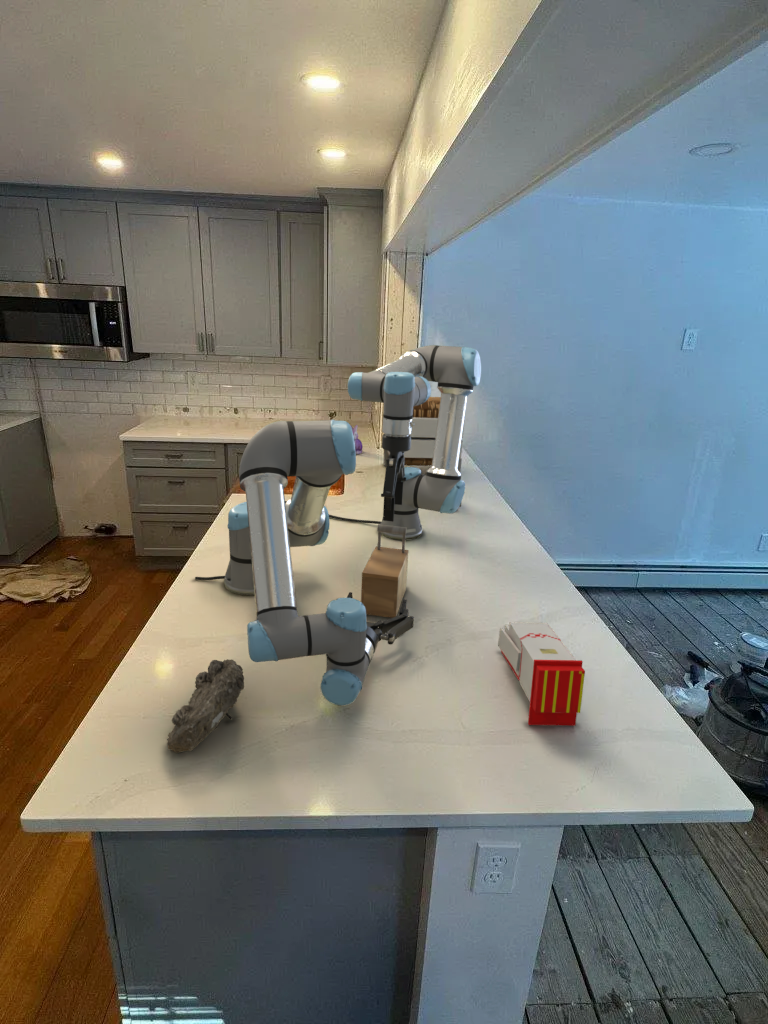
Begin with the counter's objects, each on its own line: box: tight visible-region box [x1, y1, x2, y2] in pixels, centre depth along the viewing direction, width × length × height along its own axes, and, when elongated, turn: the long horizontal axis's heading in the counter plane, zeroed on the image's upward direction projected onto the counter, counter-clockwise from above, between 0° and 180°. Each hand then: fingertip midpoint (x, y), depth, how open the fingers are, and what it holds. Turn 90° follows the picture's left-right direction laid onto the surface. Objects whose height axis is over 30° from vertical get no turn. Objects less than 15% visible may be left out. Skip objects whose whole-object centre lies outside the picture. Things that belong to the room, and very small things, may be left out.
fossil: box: [166, 658, 245, 754], centre depth 106 cm, size 22×10×15 cm
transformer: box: [383, 396, 465, 475], centre depth 268 cm, size 34×33×41 cm
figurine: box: [350, 424, 364, 455], centre depth 305 cm, size 9×10×15 cm
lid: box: [361, 524, 410, 581], centre depth 149 cm, size 18×9×8 cm, turn 169°
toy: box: [497, 621, 586, 727], centre depth 121 cm, size 12×13×30 cm
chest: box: [360, 555, 409, 619], centre depth 152 cm, size 17×9×11 cm, turn 169°
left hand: (377, 600), depth 140 cm, fingers open, 13 cm apart
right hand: (392, 512), depth 153 cm, fingers open, 13 cm apart
